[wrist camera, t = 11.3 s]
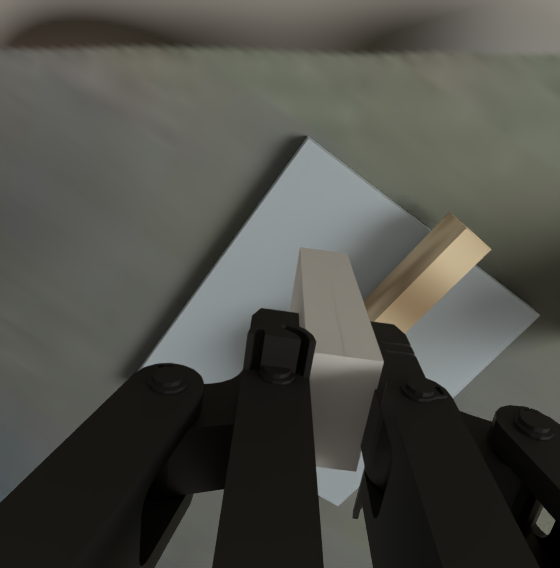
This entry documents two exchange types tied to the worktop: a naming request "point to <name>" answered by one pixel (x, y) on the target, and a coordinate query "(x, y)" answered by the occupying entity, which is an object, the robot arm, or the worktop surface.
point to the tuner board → (368, 272)
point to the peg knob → (426, 274)
